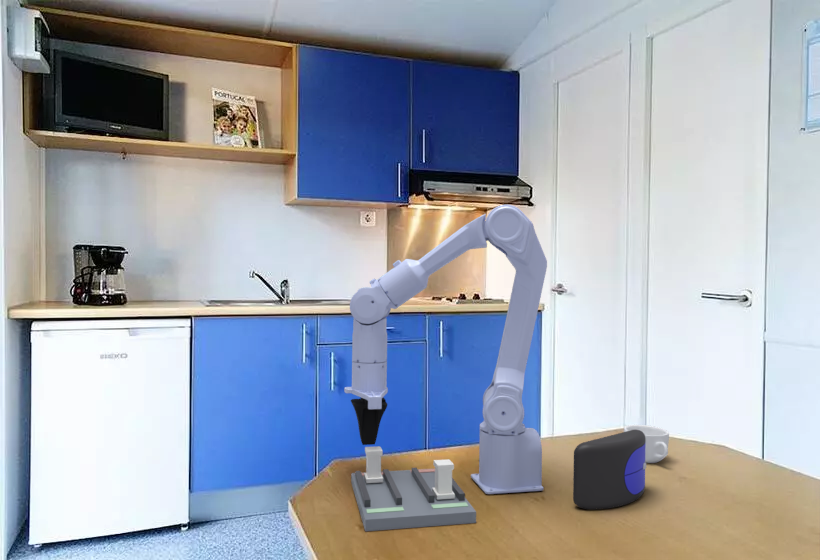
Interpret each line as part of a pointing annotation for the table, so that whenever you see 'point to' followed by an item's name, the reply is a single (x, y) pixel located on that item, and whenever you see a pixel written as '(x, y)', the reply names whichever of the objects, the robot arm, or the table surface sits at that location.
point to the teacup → (653, 442)
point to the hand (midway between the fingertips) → (368, 443)
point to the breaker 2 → (443, 479)
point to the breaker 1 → (373, 465)
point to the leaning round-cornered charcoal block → (609, 470)
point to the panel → (408, 501)
